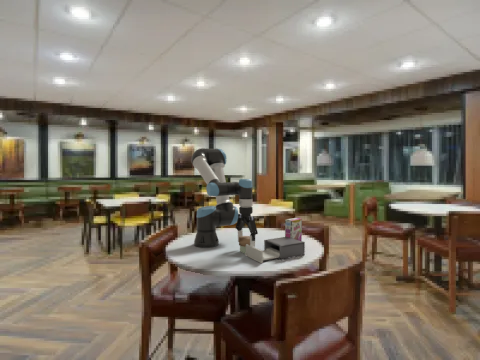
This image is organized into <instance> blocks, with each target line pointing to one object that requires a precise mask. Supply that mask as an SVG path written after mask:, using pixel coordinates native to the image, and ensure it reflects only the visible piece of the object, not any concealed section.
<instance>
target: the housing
mask: <svg viewBox="0 0 480 360" xmlns="http://www.w3.org/2000/svg"><path fill="white" fill-rule="evenodd" d="M263 242H264V243H263V244H264V245H263V247H264V250H266V248H273V249H276V250H278V251H280V257H279V258H277V259H278V260H282V261H283V260H286V259H291V258H296V257H297V258H298V257H301V256H305V252H306V251H305V249H306V248H305V247H306V244H305V241H299V240H296V239H293V238H290V237H285V236H281V237H275V238H268V239H264V241H263ZM264 250H263V251H264Z"/></svg>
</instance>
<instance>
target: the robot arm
mask: <svg viewBox="0 0 480 360" xmlns="http://www.w3.org/2000/svg"><path fill="white" fill-rule="evenodd" d="M190 162H191V164H192V166H193V167H194V168H195V169H197V171H198V172H199V174H200V176H201V178H202V179H203V181H204V182H205V184H206V189H205V190H206V194H207V195H208V196H209V197H215V200H216V205H206V206H202V207H199V208H198V209H197V210H196V234H195V237H194V241H193V246H195V247H197V248H214V247H217V246H219V243H220V242H219V238H218V234H217V231H216V230H217V227H224V226H232V225H233V226H234V225H235V230H236V231H237V242H238V243H239V237H241V236H244V235H243V227H244V225H246V226H247V228H248V230H249V232H250V235H249V236H250V246H253V247H255V248H256V235H258V234H259V233H258V228H257V224H256V221H255V216H254V215H251V214H253V211H254V209H253V208H254V207H253V205H254V203H253V201H254V200H253V187H254V186H253V180H252V179H251V178H240V179H238V181H231V182H228V181H227V180H226V176H225V170H224V168H225V167H226V166H225V165H226V164H227V154H226V152H225V151H224V150H223V149H221V148H205V147H202V148H198V149H196V150H195V151H194V152H193V153H192V155H191V161H190ZM230 196H238V200H239V201H238V203H239V205H238V206H239V208H238V207H237V206H234V203H233V202H232V201H231V200H230Z"/></svg>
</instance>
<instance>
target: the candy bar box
mask: <svg viewBox="0 0 480 360" xmlns="http://www.w3.org/2000/svg"><path fill="white" fill-rule="evenodd" d="M284 221H285V222H284V225H285V226H284V237H290V238H293V239H296V240H299V241H302V239H303V238H302V234H303V233H302V231H303V225H302V224H303V218H299V217H294V218H287V219H284Z"/></svg>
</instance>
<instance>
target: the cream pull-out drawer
mask: <svg viewBox="0 0 480 360" xmlns="http://www.w3.org/2000/svg"><path fill="white" fill-rule="evenodd" d="M245 256H246V257H248V258H250V259H252V260H254V261H255V262H257V263H260V264H263V262H264V261H268V260H273V259H278V258H279V257H280V251H278V250H276V249H273V248H266V250H261V249H259V248H257V247H256V246H255V247H253V246H250V245H248V244H246V253H245Z"/></svg>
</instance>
